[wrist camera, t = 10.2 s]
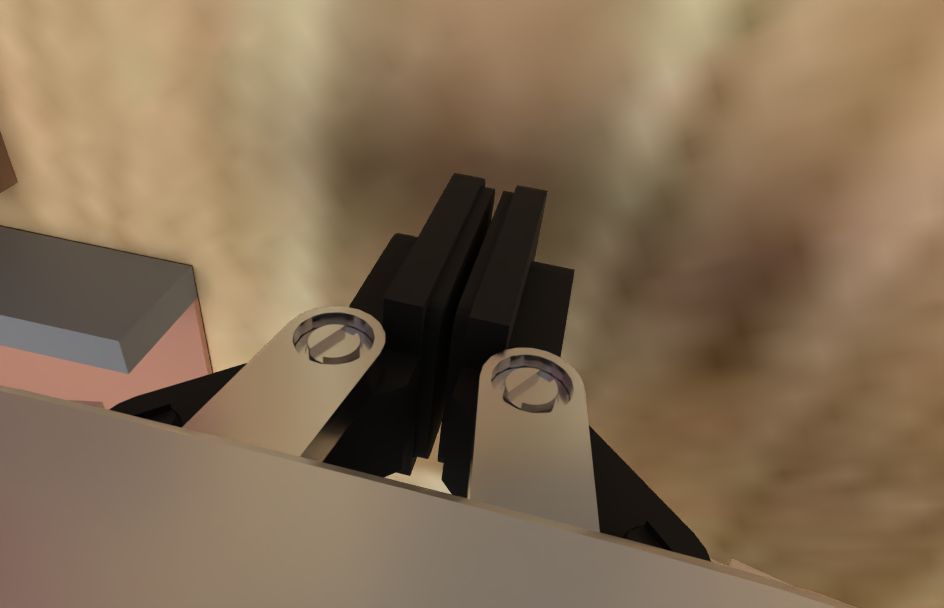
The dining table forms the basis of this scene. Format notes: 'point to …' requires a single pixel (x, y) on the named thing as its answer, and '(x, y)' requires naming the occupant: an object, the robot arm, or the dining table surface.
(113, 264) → the bay rack
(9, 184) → the walnut block
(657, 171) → the dining table surface
